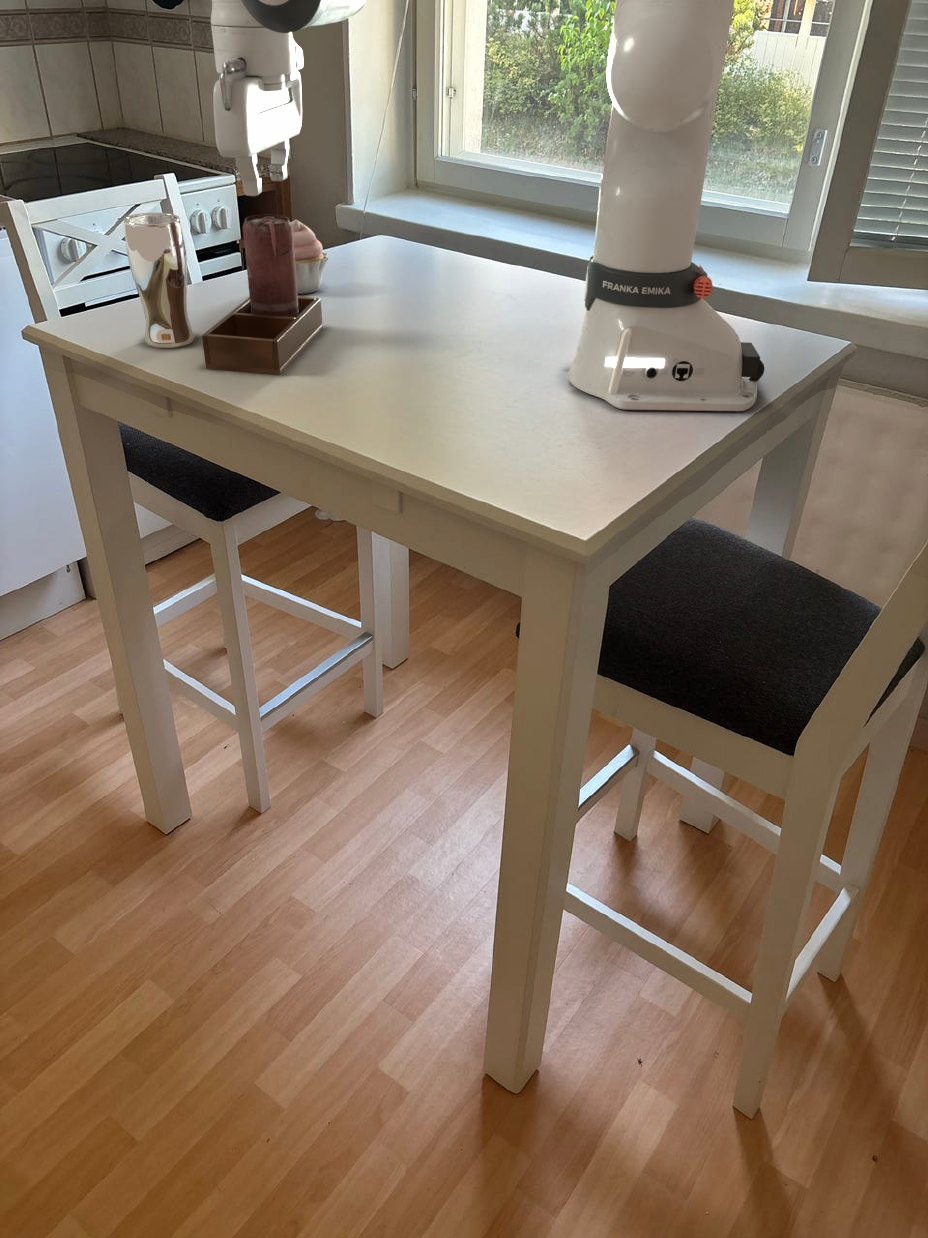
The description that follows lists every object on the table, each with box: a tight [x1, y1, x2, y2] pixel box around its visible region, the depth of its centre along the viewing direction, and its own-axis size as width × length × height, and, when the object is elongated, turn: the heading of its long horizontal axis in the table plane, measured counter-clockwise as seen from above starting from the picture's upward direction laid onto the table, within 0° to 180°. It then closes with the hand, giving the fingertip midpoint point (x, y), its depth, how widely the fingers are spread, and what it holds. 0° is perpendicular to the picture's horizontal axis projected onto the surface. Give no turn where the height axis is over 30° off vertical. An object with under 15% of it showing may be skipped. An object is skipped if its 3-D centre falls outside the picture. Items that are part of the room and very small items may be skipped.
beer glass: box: [122, 212, 195, 349], centre depth 119 cm, size 7×7×15 cm
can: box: [242, 213, 299, 318], centre depth 122 cm, size 6×6×14 cm
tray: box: [201, 296, 324, 376], centre depth 121 cm, size 9×18×4 cm, turn 171°
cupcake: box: [290, 219, 329, 295], centre depth 142 cm, size 9×9×10 cm
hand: (266, 187), depth 116 cm, fingers open, 8 cm apart
